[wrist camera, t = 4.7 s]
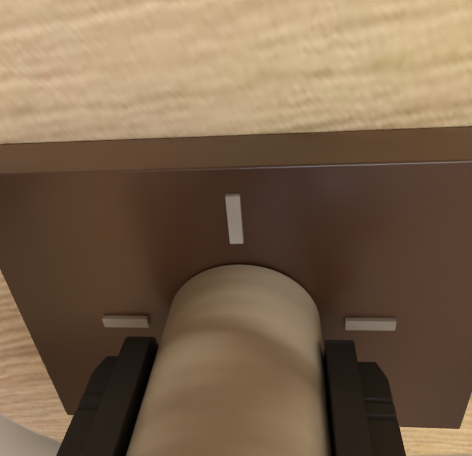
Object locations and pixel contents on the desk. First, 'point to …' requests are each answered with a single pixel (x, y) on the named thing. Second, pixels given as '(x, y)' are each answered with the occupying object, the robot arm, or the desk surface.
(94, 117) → the desk surface
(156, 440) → the dial
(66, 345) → the dial panel
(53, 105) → the desk surface
